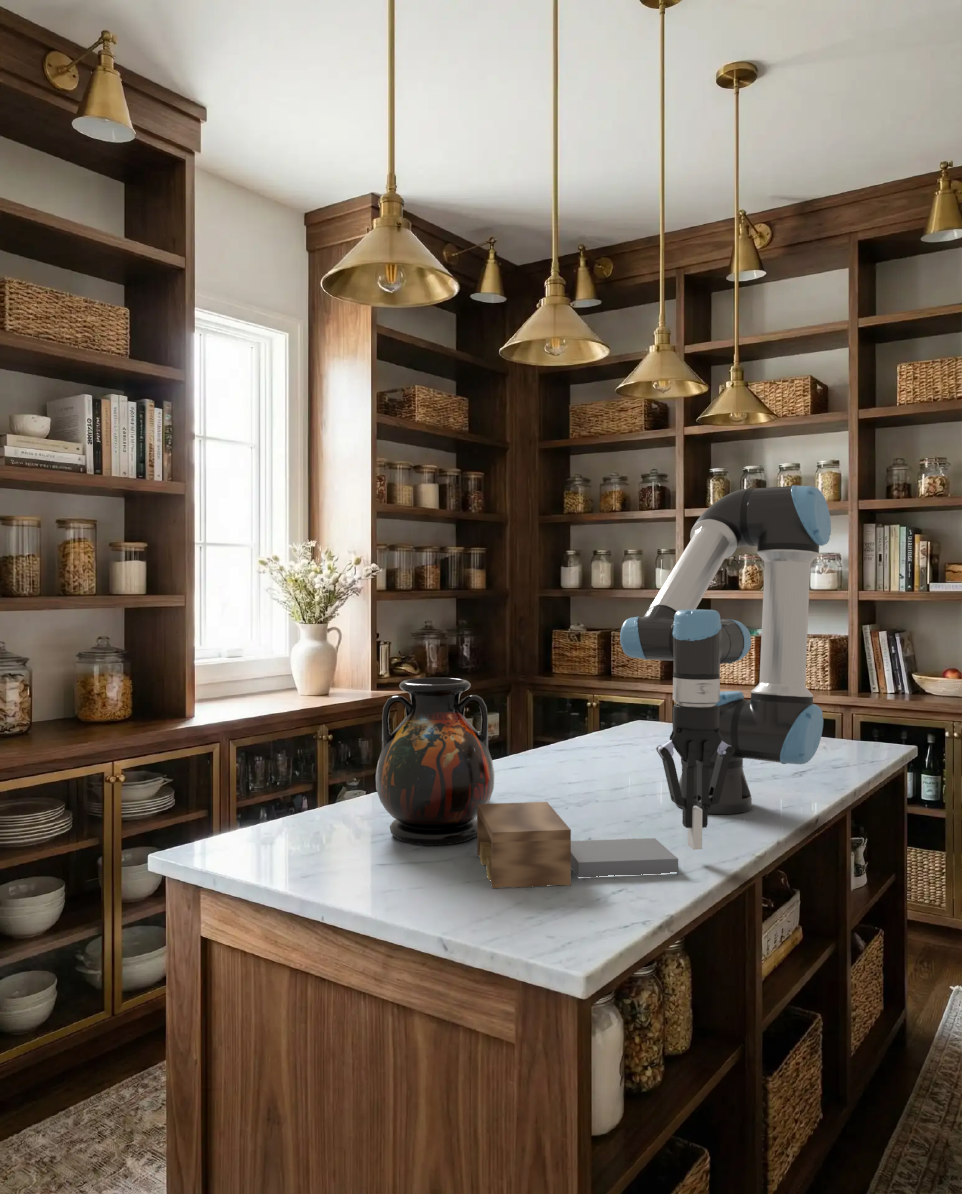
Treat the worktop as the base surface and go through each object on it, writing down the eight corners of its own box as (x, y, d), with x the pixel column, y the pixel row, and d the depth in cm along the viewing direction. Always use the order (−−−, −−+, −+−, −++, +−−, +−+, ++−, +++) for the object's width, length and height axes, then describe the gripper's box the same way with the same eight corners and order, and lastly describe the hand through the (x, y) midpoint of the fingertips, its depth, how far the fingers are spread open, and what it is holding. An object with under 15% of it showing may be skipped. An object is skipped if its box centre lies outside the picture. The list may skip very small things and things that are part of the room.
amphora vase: (372, 853, 163) (371, 688, 162) (379, 820, 184) (378, 675, 183) (498, 851, 164) (498, 687, 163) (490, 818, 185) (490, 674, 185)
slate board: (654, 855, 163) (655, 838, 163) (678, 877, 151) (678, 858, 151) (562, 859, 161) (562, 841, 161) (578, 881, 149) (578, 862, 149)
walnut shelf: (547, 851, 163) (547, 801, 163) (570, 885, 146) (570, 829, 145) (477, 854, 162) (477, 804, 162) (492, 888, 144) (492, 832, 144)
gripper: (665, 707, 152) (663, 854, 153) (743, 706, 154) (741, 852, 154) (650, 701, 160) (649, 842, 160) (725, 700, 162) (724, 839, 162)
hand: (694, 847), depth 157 cm, fingers closed
